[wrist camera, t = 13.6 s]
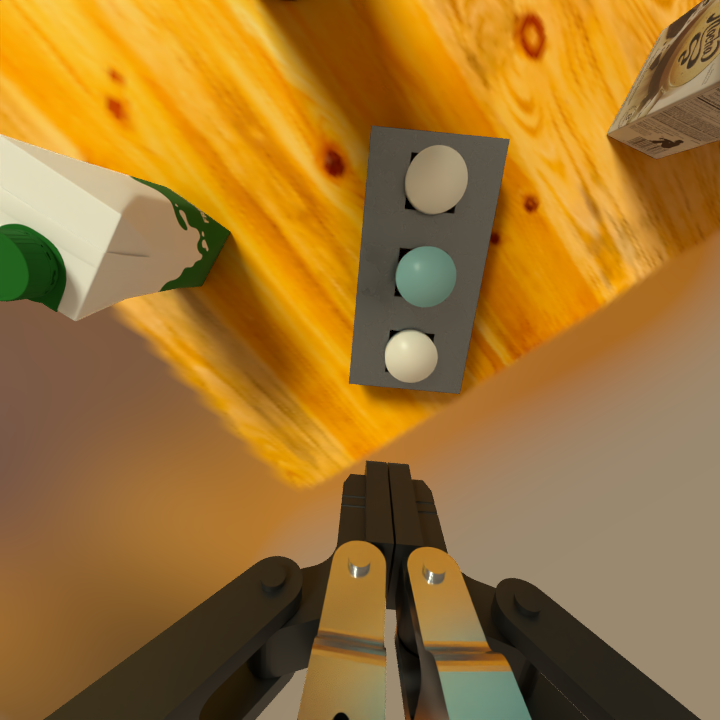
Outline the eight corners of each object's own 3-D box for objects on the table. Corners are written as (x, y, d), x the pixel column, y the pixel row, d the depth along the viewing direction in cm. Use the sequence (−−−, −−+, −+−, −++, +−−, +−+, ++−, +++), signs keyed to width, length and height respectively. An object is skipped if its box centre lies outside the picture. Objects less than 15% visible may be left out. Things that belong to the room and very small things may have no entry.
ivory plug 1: (403, 160, 34) (410, 142, 28) (455, 165, 34) (473, 148, 28) (397, 216, 36) (402, 210, 30) (446, 221, 36) (461, 215, 30)
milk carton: (135, 252, 38) (-99, 255, 19) (169, 177, 36) (-59, 94, 17) (205, 297, 39) (53, 342, 20) (243, 228, 37) (111, 206, 18)
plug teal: (395, 244, 35) (400, 243, 29) (445, 249, 35) (461, 249, 29) (389, 295, 36) (393, 304, 31) (437, 300, 36) (450, 310, 31)
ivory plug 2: (385, 318, 39) (388, 330, 33) (430, 322, 39) (441, 335, 33) (380, 361, 40) (382, 380, 35) (424, 365, 41) (433, 384, 35)
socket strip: (370, 142, 34) (371, 125, 29) (489, 154, 34) (509, 139, 30) (351, 368, 42) (348, 383, 37) (449, 377, 42) (459, 393, 37)
